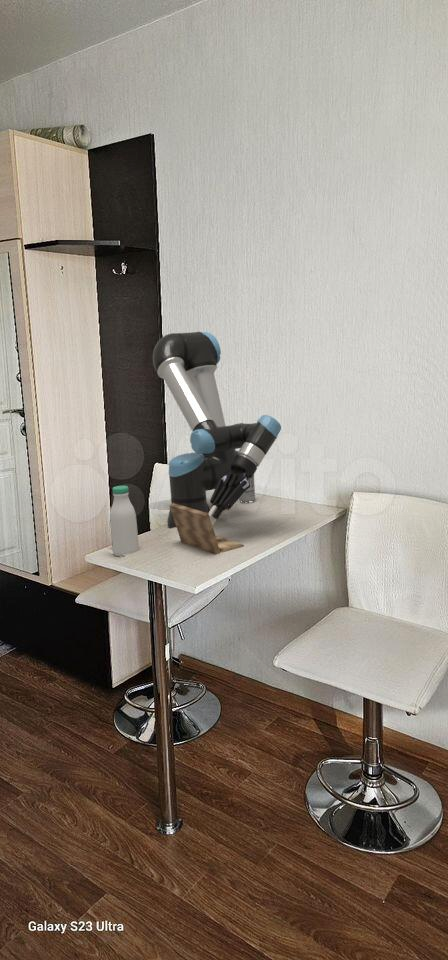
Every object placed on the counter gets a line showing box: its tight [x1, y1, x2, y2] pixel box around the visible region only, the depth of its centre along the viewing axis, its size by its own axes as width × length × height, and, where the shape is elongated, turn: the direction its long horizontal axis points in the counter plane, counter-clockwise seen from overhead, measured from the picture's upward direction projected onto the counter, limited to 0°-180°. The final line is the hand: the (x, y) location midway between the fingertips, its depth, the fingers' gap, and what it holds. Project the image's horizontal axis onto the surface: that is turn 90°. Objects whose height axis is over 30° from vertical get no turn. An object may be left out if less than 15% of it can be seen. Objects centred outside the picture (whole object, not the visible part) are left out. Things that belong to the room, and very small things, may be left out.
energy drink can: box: [238, 474, 256, 502], centre depth 260 cm, size 6×6×15 cm
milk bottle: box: [109, 485, 140, 557], centre depth 204 cm, size 8×8×20 cm
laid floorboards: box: [215, 534, 245, 554], centre depth 208 cm, size 18×8×2 cm, turn 37°
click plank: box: [169, 503, 221, 555], centre depth 202 cm, size 18×2×13 cm, turn 37°
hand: (206, 526), depth 204 cm, fingers closed
